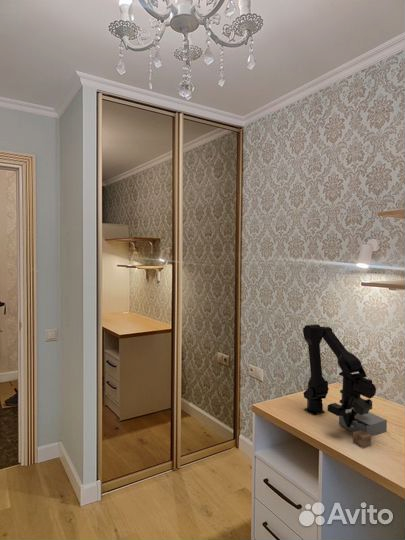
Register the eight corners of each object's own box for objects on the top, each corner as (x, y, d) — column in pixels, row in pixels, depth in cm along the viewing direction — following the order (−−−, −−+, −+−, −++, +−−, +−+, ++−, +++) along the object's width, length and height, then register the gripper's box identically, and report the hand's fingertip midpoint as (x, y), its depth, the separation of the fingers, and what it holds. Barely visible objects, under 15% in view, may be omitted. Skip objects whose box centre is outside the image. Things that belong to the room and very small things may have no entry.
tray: (338, 424, 157) (338, 415, 157) (358, 418, 162) (358, 409, 162) (363, 437, 146) (363, 427, 146) (383, 430, 151) (384, 421, 151)
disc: (349, 421, 156) (349, 417, 156) (360, 418, 159) (361, 414, 159) (363, 429, 150) (363, 424, 150) (375, 425, 153) (375, 421, 153)
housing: (340, 424, 158) (340, 413, 158) (359, 418, 163) (360, 408, 163) (366, 437, 146) (366, 426, 146) (386, 431, 152) (386, 419, 152)
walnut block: (352, 442, 143) (353, 432, 142) (361, 440, 145) (361, 429, 144) (362, 448, 139) (363, 437, 138) (370, 445, 141) (371, 435, 140)
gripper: (349, 399, 139) (347, 441, 139) (383, 392, 147) (381, 431, 148) (327, 389, 149) (325, 428, 149) (359, 383, 157) (358, 420, 158)
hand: (348, 427), depth 151 cm, fingers closed
